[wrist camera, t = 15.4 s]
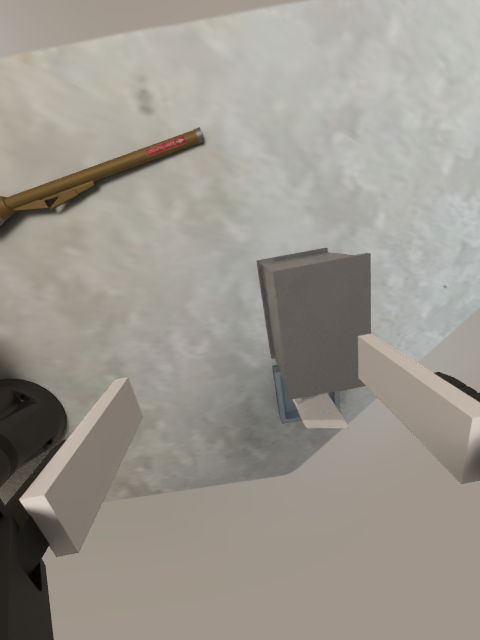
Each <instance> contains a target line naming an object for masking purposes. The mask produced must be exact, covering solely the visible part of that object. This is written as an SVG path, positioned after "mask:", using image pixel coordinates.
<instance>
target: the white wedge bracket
mask: <svg viewBox="0 0 480 640" xmlns="http://www.w3.org/2000/svg"><path fill="white" fill-rule="evenodd" d="M292 400H293V402H294V403H295V405H296V407H297V410H298V412H299V414H300V417H301V419H302V421H303V423H304V425H305V427H306V428H348V425H347V423H346V421H345V419H344V418H343V416H342V415H341V413H340V412H339V410H338V409H337V407H336V406H335V404H334V403H333V401H332V400H331V398H330V397H329V395H328V394H327V393H324V394H319V395H313V396H308V397H303V398H297V399H292Z"/></svg>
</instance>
